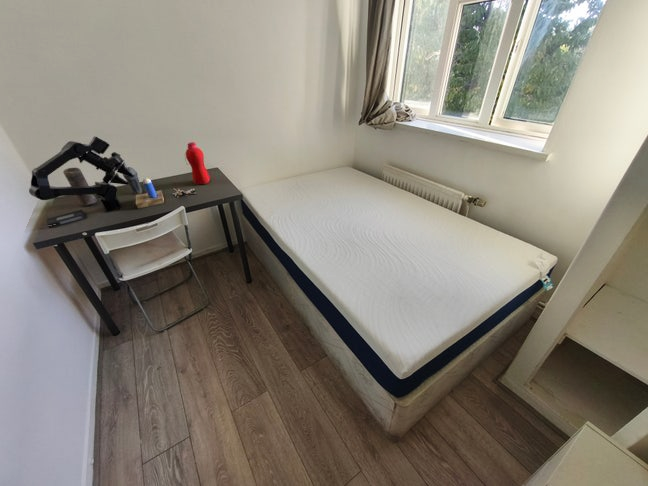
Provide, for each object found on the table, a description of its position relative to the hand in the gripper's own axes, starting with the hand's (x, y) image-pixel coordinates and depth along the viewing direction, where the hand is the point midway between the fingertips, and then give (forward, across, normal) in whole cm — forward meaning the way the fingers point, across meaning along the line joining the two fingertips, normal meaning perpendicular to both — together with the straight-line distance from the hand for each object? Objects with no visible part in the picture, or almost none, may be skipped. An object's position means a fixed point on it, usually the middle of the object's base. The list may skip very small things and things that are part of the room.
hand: (131, 180), depth 146 cm
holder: (+13, -1, +5) cm, 14 cm away
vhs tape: (-11, -11, +33) cm, 36 cm away
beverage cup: (+8, +15, +14) cm, 22 cm away
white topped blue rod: (+15, -1, +4) cm, 15 cm away
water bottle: (+32, +19, -13) cm, 39 cm away
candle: (-8, +6, +31) cm, 32 cm away
